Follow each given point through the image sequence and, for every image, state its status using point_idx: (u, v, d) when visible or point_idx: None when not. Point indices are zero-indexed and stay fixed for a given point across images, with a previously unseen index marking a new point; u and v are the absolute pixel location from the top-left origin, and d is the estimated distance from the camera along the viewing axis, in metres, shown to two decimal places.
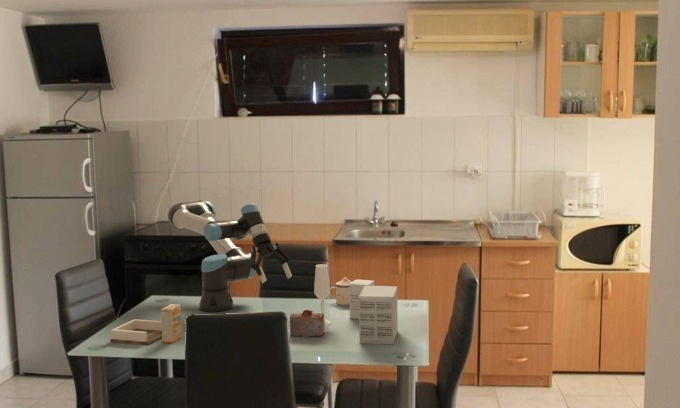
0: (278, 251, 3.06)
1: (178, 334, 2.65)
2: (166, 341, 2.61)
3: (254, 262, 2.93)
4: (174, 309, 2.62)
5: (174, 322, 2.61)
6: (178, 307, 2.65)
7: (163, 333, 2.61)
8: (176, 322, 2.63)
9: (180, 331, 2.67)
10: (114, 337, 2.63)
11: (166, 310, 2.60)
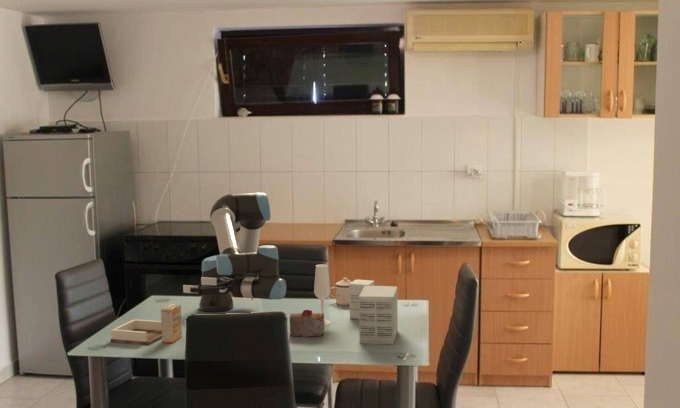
0: None
1: (178, 334, 2.65)
2: (166, 341, 2.61)
3: None
4: (174, 309, 2.62)
5: (174, 322, 2.61)
6: (178, 307, 2.65)
7: (163, 333, 2.61)
8: (176, 322, 2.63)
9: (180, 331, 2.67)
10: (114, 337, 2.63)
11: (166, 310, 2.60)
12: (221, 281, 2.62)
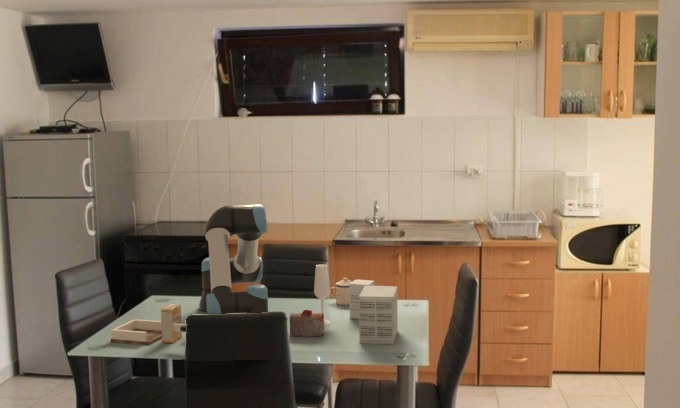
0: None
1: (178, 334, 2.65)
2: (166, 341, 2.61)
3: None
4: (174, 309, 2.62)
5: (174, 322, 2.61)
6: (178, 307, 2.65)
7: (163, 333, 2.61)
8: (176, 322, 2.63)
9: None
10: (114, 337, 2.63)
11: (166, 310, 2.60)
12: None
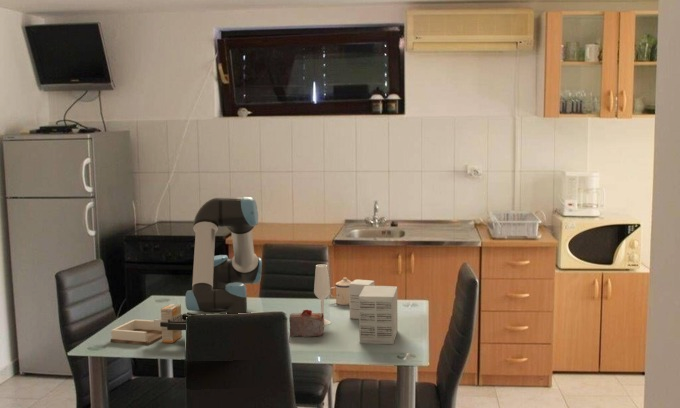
0: None
1: (178, 334, 2.65)
2: (166, 341, 2.61)
3: None
4: (174, 309, 2.62)
5: None
6: (178, 307, 2.65)
7: (163, 333, 2.61)
8: None
9: (180, 331, 2.67)
10: (114, 337, 2.63)
11: (166, 310, 2.60)
12: None
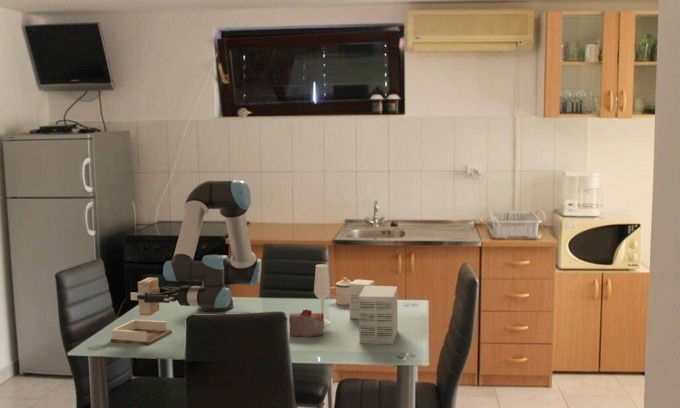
0: None
1: (156, 307, 2.66)
2: (143, 314, 2.62)
3: None
4: (151, 282, 2.62)
5: None
6: (155, 280, 2.66)
7: (140, 306, 2.62)
8: None
9: (157, 304, 2.68)
10: (114, 337, 2.63)
11: (143, 283, 2.60)
12: (165, 290, 2.67)
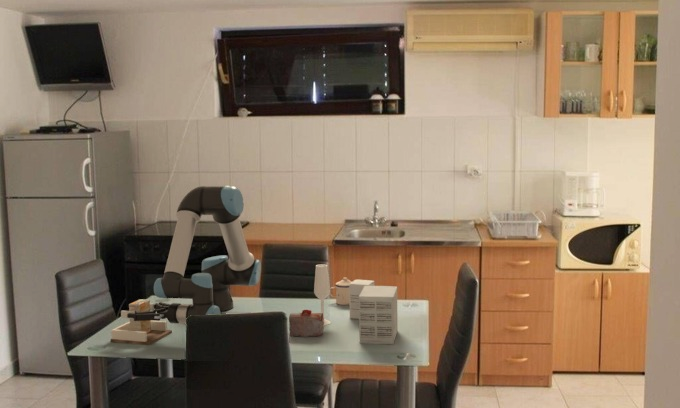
0: None
1: (147, 329, 2.70)
2: None
3: None
4: (142, 304, 2.66)
5: None
6: (147, 302, 2.69)
7: (131, 328, 2.65)
8: None
9: (149, 326, 2.71)
10: (114, 337, 2.63)
11: (134, 305, 2.64)
12: (158, 307, 2.70)
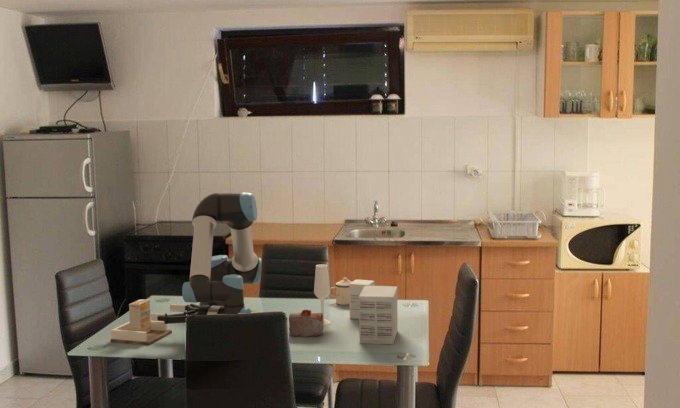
0: None
1: (147, 329, 2.70)
2: None
3: None
4: (142, 304, 2.66)
5: (142, 317, 2.65)
6: (147, 302, 2.69)
7: (131, 328, 2.65)
8: (144, 317, 2.67)
9: (149, 326, 2.71)
10: (114, 337, 2.63)
11: (134, 305, 2.64)
12: (189, 308, 2.67)
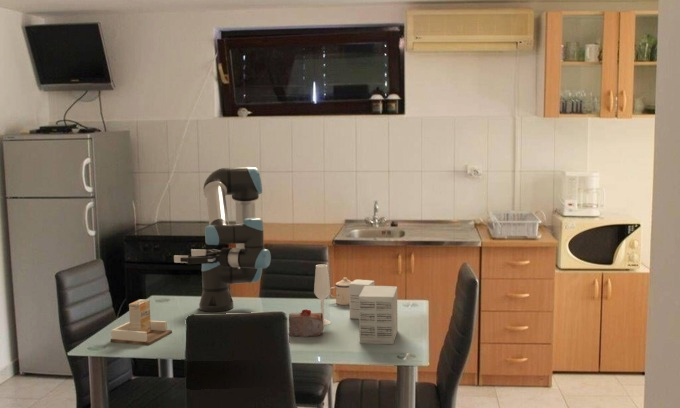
0: None
1: (147, 329, 2.70)
2: None
3: None
4: (142, 304, 2.66)
5: (142, 317, 2.65)
6: (147, 302, 2.69)
7: (131, 328, 2.65)
8: (144, 317, 2.67)
9: (149, 326, 2.71)
10: (114, 337, 2.63)
11: (134, 305, 2.64)
12: (210, 252, 2.78)
